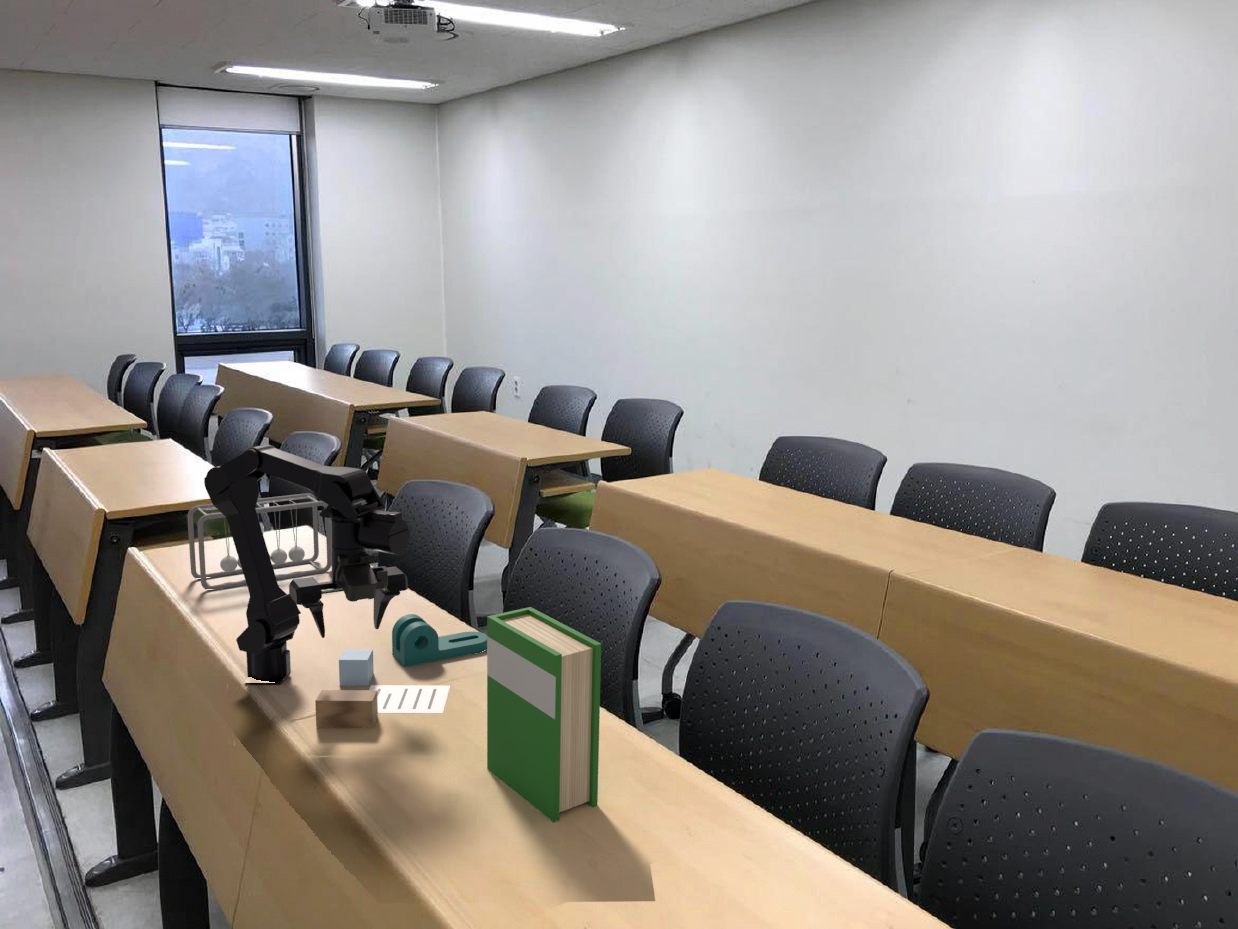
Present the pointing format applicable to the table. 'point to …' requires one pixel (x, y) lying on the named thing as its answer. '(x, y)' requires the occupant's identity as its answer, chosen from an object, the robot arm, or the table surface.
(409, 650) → the bracket
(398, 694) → the letter
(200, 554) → the newton's cradle
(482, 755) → the table surface
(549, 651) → the hardback book
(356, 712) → the walnut block
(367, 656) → the cube
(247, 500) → the robot arm
